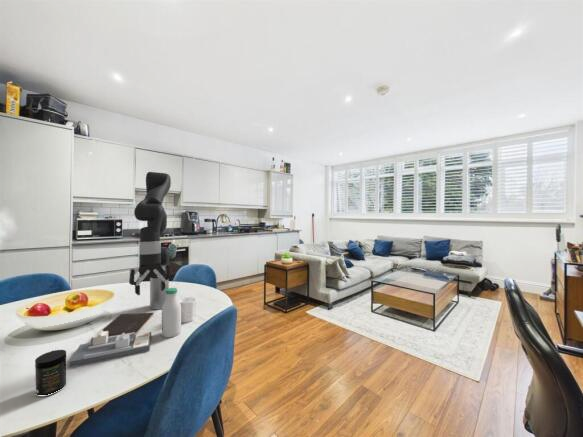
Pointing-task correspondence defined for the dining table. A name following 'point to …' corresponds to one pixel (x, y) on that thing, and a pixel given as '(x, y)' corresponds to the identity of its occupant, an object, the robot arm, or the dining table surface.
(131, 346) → the switch panel
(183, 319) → the white cup
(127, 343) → the white block with rib
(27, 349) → the dining table surface
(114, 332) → the hardcover book
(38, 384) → the supplement container
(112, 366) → the dining table surface
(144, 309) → the dining table surface
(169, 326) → the milk bottle
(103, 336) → the cream tab
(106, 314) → the dining table surface
